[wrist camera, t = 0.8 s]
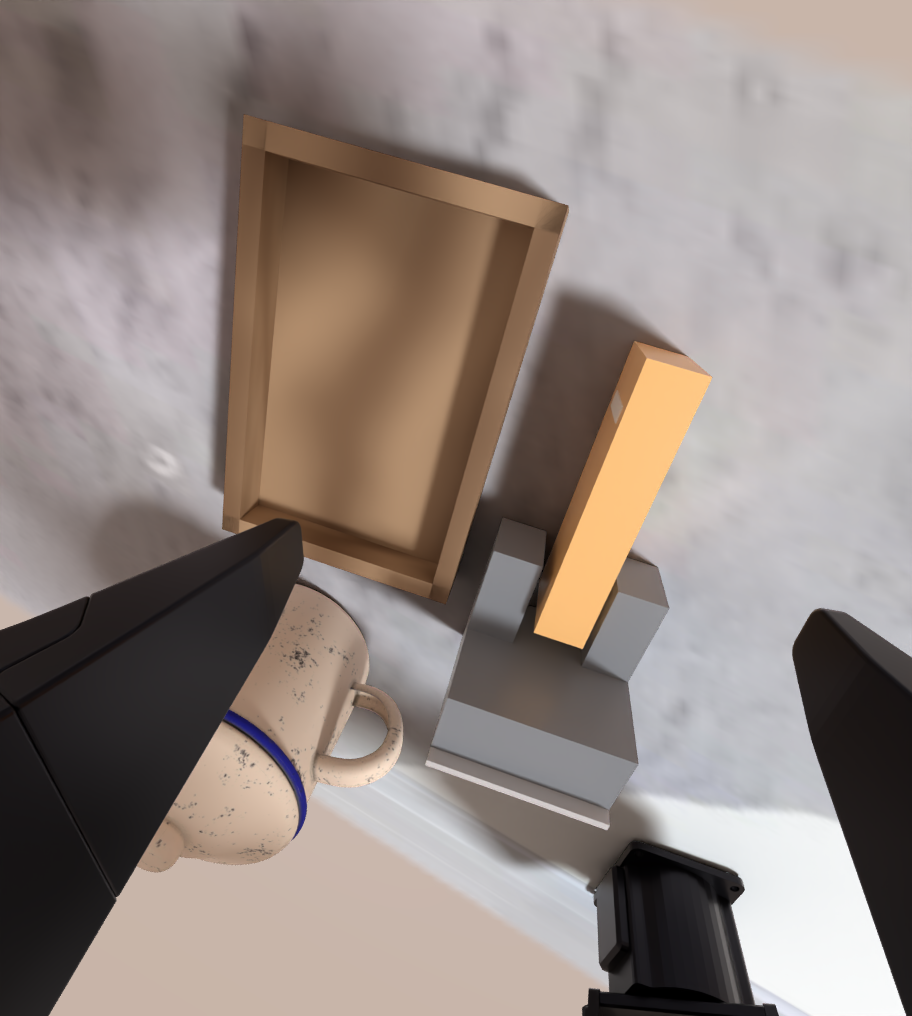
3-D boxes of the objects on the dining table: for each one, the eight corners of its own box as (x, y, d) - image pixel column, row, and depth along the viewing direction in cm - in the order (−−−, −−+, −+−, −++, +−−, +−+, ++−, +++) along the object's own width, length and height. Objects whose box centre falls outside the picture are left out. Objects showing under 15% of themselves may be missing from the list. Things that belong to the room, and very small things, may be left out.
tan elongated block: (688, 355, 19) (714, 377, 16) (582, 592, 24) (583, 649, 21) (632, 339, 19) (645, 357, 16) (538, 578, 24) (532, 632, 21)
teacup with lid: (233, 692, 32) (69, 902, 21) (207, 562, 28) (-9, 743, 17) (428, 728, 30) (351, 979, 19) (429, 594, 26) (334, 819, 15)
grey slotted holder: (658, 567, 23) (694, 697, 16) (598, 682, 26) (606, 830, 19) (502, 517, 23) (474, 623, 16) (462, 635, 26) (424, 765, 20)
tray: (568, 211, 18) (568, 205, 16) (455, 577, 25) (445, 604, 23) (278, 129, 19) (243, 113, 17) (248, 508, 26) (222, 529, 24)
